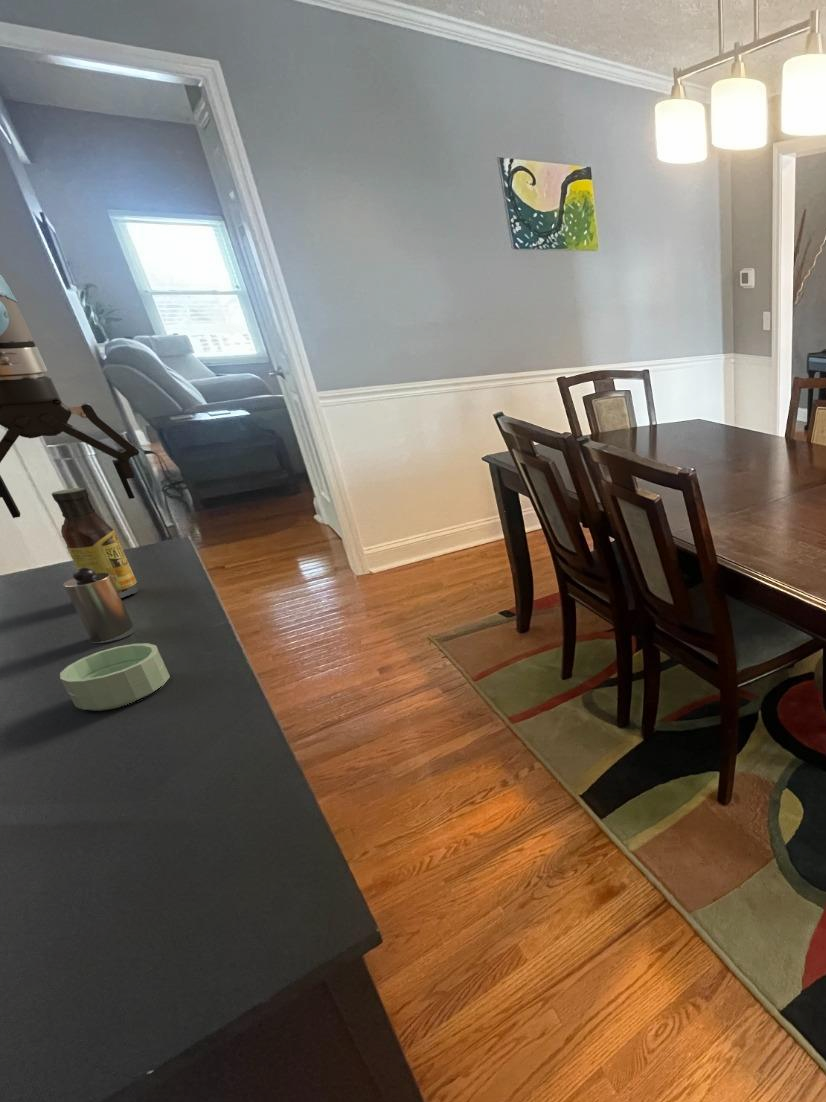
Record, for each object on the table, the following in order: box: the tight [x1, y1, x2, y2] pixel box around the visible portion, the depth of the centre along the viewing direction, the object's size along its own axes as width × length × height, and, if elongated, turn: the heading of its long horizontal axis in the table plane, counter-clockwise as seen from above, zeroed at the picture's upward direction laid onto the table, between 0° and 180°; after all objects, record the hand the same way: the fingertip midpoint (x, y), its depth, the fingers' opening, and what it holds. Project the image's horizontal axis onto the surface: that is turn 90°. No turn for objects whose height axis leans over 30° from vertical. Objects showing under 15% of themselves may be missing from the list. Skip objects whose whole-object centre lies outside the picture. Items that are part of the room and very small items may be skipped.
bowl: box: [59, 642, 171, 712], centre depth 80 cm, size 9×9×5 cm
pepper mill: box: [62, 568, 134, 643], centre depth 93 cm, size 5×5×12 cm
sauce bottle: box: [51, 487, 138, 593], centre depth 104 cm, size 7×6×20 cm
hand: (76, 506), depth 102 cm, fingers open, 13 cm apart
